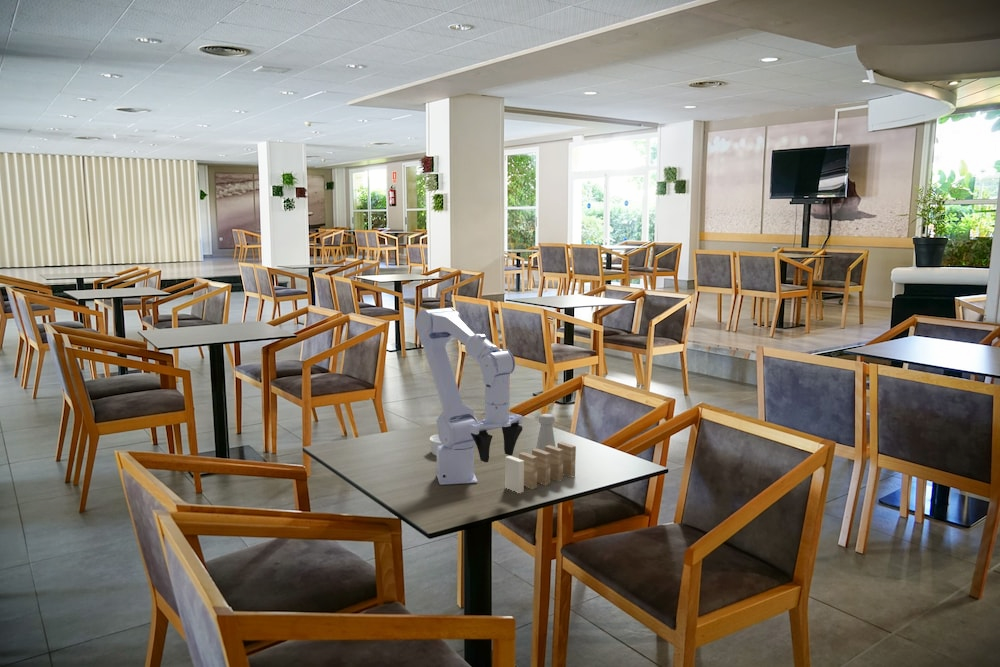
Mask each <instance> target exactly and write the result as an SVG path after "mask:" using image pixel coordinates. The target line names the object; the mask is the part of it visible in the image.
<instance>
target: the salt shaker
mask: <svg viewBox="0 0 1000 667" xmlns="http://www.w3.org/2000/svg"><path fill="white" fill-rule="evenodd" d="M555 420H556V419H555V415H553V414H551V413H542V414H540V415H539V416H538V423H539V424H540V427H539V430H538V436H537V441H536V447H535V449H540V450H543V451H545V446H548V445H551V446H554V447H556V440H555V434H554V427H553V425H554V424H555Z"/></svg>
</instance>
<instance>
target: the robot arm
mask: <svg viewBox="0 0 1000 667" xmlns="http://www.w3.org/2000/svg"><path fill="white" fill-rule="evenodd" d="M414 324H415V329H416V332H417V336H418V340H419V341H420V345H421V346H422V347H423V350H424V352H425V357H426V360H427V363H428V366H429V368H430V369H429V370H430V373H431V376H432V379H433V382H434V386H435V389H436V393H437V395H438V399H439V402H440V405H441V408H442V412H441V413H440V414H439V415H438V418H437V419H436V424H437V434H438V436H439V439H440V441H441V443H442V444H443V445H442V446H437V456H436V470H435V473H436V474H435V475H436V477H437V479H438V480H437V481H438V483H439V485H442V486H443V485H459V484H476V483H478V479H477V477H476V474H475V446H476V448H477V451H478V456H479V458H480V461H481V462H484V463H489V460H490V449H491V448H490V447H491V442H492V439H493V435H491V434H489V432H488V431H491V430H496V429H500V428H501V430H502V436H503V450H504V454H505V455H507V456H513V455H514V450H515V446H516V443H517V441H518V439H519V436H520V435H521V433H522V432H523V426H522V424H523V415H521V414H518V413H517V414H510V384H511V383H510V382H511V380H510V379H511V374H513V372H514V371H515V368H516V360H515V357H514V355H513V353H512V352H511V351H510V350H509V349H502V348H499V347H498V346H497V345H495V344H494V343H492V342H491V341H490V340H489V339H488V338H487V335H485V333H482V334H481V333H474V332H473V331H472V330H471V329H470V328H469V327H468V326H467V324H466V323H465V322H464V321H463V320H462V319H461V314H460V312H459V311H457V310H456V309H455V308H454V307H452V306H448V307H444V308H443V307H442V308H431V309H421V310H419V311H418V312H417V314H416V318H415V323H414ZM453 337H454V339H456V340H458V341H459V342H460V343H462V344H464V346H465V347H464V350H465V353H467V355H469V357H471V358H472V359H473V360H474V361H475V362H476V363H477V364H478V365H479V369H480V372H481V374H482V382H483V383H484V385H485V386H484V418H483V419H482V420H480V421H479V419H478V418H477V417H476V415H475V412H474V409H472V408H471V407H468V406H467V405H466V404H464V403H463V399H462V396H461V392H460V390H459V387H458V384H457V380H456V377H455V373H454V371H453V367H452V365H451V361H450V359H449V356H448V352H447V350H446V346H447V344H448V343H449V342H451V340H452V338H453Z"/></svg>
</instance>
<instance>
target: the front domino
mask: <svg viewBox="0 0 1000 667" xmlns="http://www.w3.org/2000/svg"><path fill="white" fill-rule="evenodd" d="M504 458H505V459H504V489H506V488H507V489H506V490H508V489H510V490H512V491H511V492H513V491H515V492H517V493H516V494H518V493H520V492H523V493H524V460H521V459H519V457H515V456H513V455H511V456H510V455H507V456H505V457H504ZM510 490H509V491H510ZM515 492H514V493H515ZM520 494H521V493H520Z"/></svg>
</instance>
